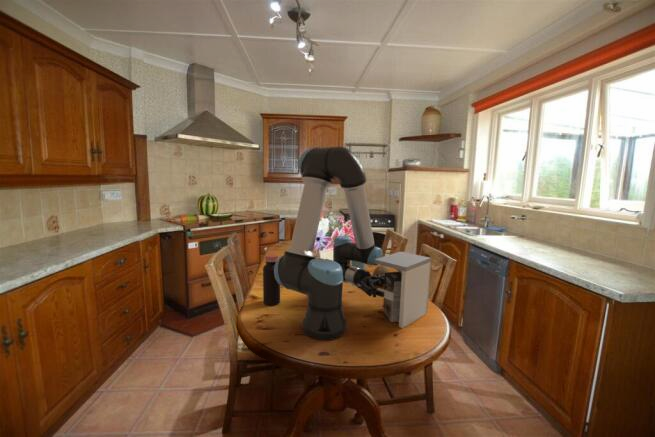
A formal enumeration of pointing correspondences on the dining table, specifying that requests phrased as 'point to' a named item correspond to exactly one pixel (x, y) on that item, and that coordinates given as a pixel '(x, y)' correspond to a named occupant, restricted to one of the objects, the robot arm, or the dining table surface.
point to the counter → (410, 284)
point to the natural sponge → (381, 270)
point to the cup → (358, 265)
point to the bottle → (270, 281)
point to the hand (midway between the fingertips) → (403, 291)
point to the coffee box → (394, 286)
